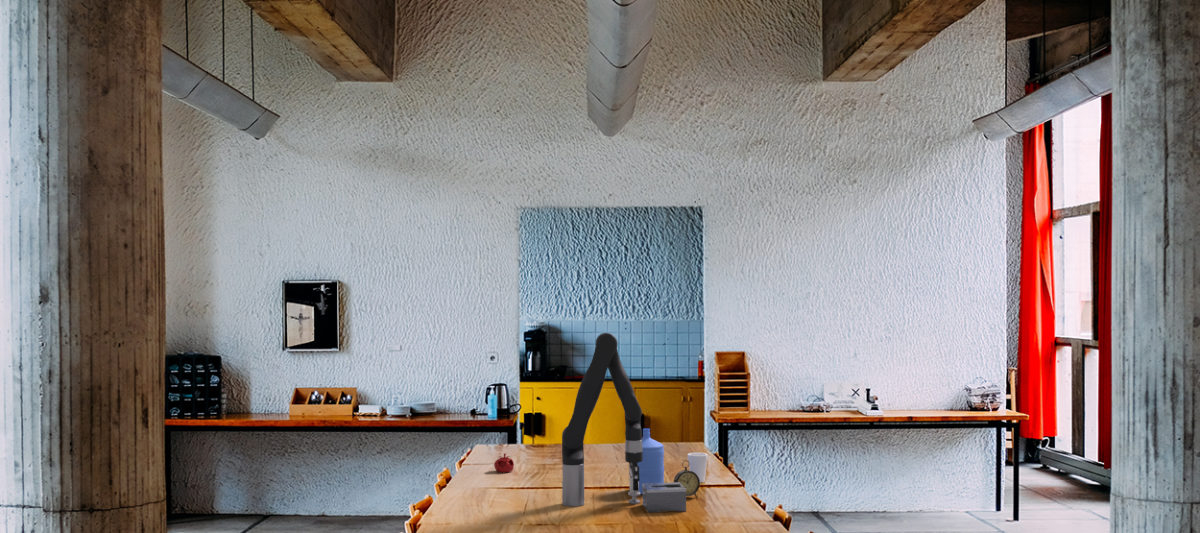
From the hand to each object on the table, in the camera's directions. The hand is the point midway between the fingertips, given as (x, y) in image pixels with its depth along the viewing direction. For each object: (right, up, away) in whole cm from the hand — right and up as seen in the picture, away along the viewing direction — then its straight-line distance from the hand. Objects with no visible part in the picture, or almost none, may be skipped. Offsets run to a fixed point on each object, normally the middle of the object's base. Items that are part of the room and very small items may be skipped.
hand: (634, 488), depth 387 cm
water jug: (+7, -7, +23) cm, 25 cm away
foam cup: (+32, -8, +43) cm, 54 cm away
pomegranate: (-63, -10, +73) cm, 97 cm away
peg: (0, -6, 0) cm, 6 cm away
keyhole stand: (+12, -6, -10) cm, 17 cm away
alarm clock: (+23, -7, +9) cm, 26 cm away
